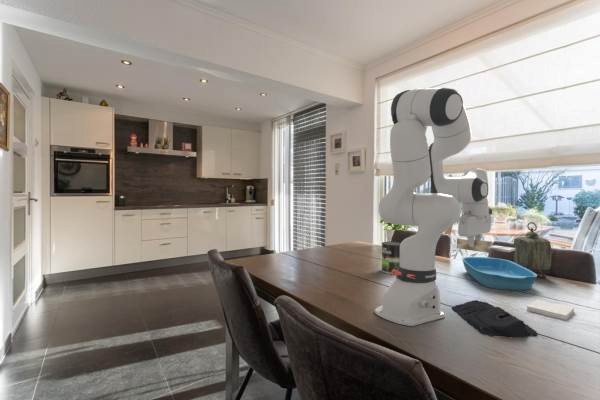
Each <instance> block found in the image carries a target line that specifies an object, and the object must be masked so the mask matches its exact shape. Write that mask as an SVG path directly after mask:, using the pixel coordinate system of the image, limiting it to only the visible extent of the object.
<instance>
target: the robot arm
mask: <svg viewBox="0 0 600 400" xmlns="http://www.w3.org/2000/svg"><path fill="white" fill-rule="evenodd" d="M463 102H464V101H463V98H462V95H461V94H460V93H459V92H458V90H456V89H455V88H450V87H441V88H438V87H437V88H436V87H435V88H434V87H429V88H428V87H420V88H414V89H411V90H410V89H406V90H405V91H404V90H403V91H401V92H399V93H397V94H396V95H395V96H394V97H393V99H392V101H391V105H390V116H391V121H392V123H393V125H392V126H391V129H390V135H389V146H390V147H389V149H390V157H391V164H392V172H393V173H392V175H393V180H392V181H393V182H392V185H391V189H390V190H389V192H387V194H385V195H384V196H382V198H381V200H380V201H379V202H378V214H379V217H380V219H382V221H384V222H385V223H388V224H393V225H396V226H410V227H411V226H412V227H413V226H414V227H417V231H416V233H415V234H412V235H410V236H408V237H406V238H404V239H403V240H402V241H401V242H400V243H401V244H400V265H399V266H398V269H397V270H395V269H393V270H392V271H391V274H390V275H392V276H395V277H396V278H395V279H394V280H393V281H392V283H391V285H390V286H389V287H388V288H387V289H386V291H385V292H384V293H383V296H382V303H381V305H379V306H378V307H376V308H374V313H375V315H376V316H379V317H380V318H382V319H384V320H387V321H389V322H392V323H395V324H399V325H403V326H408V327H414V326H418V325H421V324H425V323H429V322H432V321H437V320H441V319H444V318H445V313H444V311H442V308H441V294H440V289H439V287H438V285H437V283H436V280H437V269H436V267H435V266H436V265H435V263H436V249H437V244H438V242H439V240H440V238H441V236H442V235H443V233H444V232H445V231H446V230H448V229H449V228H450V227H452V226H453V225H455V224H456V223H457V221H458V223H457V225H458V227H457V234H458V236H459V237H464V238H465V237H466V239H468V241H469V246H470V247H474V246H475V242H474V240H482V235H483V234H487V233H490V232H491V227H492V215H493V211H494V210H493V209H492V208H491V207H490V206H489V201H488V195H489V179H488V172H487V170H485V169H484V168H479V167H475V168H474V167H473V168H472V167H471V168H467V169H465V170H464V173H463V176H458V177H455V176H453V177H451V176H449V177H448V176H446V175H444V164H443V161H445V160H447V159H448V158H450V157H454V156H456V155H458V154H459V153H461V152H462V151H464V150H465V149H466V148H467V146H469V144H470V142H471V140H472V129H471V128H472V127H471V123H470V119H469V116H468V114H467V111H466V110H467V109H466V107H465V106H464V103H463ZM428 127H431V132H432V134H433V142H431V143H430V145H429V144H428V139H427V135H426V133H427V129H428ZM428 145H429V146H428ZM429 180H430V188H429V189H430V190H429V191H430V193H429V192H422V193H421V192H420V193H419V192H415V189H417V188H419V187H422V186H423V185H424V184H426V183H427V182H429ZM460 203H461V206H460Z"/></svg>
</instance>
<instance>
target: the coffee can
mask: <svg viewBox="0 0 600 400" xmlns="http://www.w3.org/2000/svg"><path fill="white" fill-rule="evenodd" d="M400 244H401V242H398V241H383V242H381V272H382V273H385V274H389V275H392V274H391V271H392V270H393V269H395V270H397V269H398V266H399V265H400Z"/></svg>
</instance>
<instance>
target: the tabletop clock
mask: <svg viewBox="0 0 600 400" xmlns="http://www.w3.org/2000/svg"><path fill="white" fill-rule="evenodd" d="M531 224H533V226H534V227H535V229H534V228H533V227H531V228H530V225H531ZM526 226H527V229H528V230H529V231H527V232H526V233H525V234H524V236H518V237H516V238H513V239H514V240H513V248H516V250H515V251H512V253H513V262H514V263H516V264H518V265H520V266H522V267H524V268H526V269H528V270H530V271H532V272H533V270H537V271H538V272H539V273H540V274H541V277H542V278H543V279H546V278H547V275H546V274H544V273H543V271H542V270H550V269H551V266H552V244H551V241H550V240H549V239H547V238H545V237H540V236H539V234H538V233H537V232H536V231H537V229H538V228H537V227H538V226H537V224H536V223H535V222H534V221H530V222H528V223H527V225H526Z"/></svg>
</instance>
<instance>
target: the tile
mask: <svg viewBox="0 0 600 400" xmlns="http://www.w3.org/2000/svg"><path fill="white" fill-rule="evenodd" d="M526 311H528V312H533V313H535V314H539V315H544V316H547V317H548V316H549V317H552V318H556V319H559V320H564V321H567V320H568V319H569V318H570V317H571V316H572V315H574V313H575V307H572V306H568V305H564V304H558V303H554V302H551V301H550V302H549V301H545V300H541V299H535V300H534V301H532V302H531V303H529V304H528V305H527V306H526Z"/></svg>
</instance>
